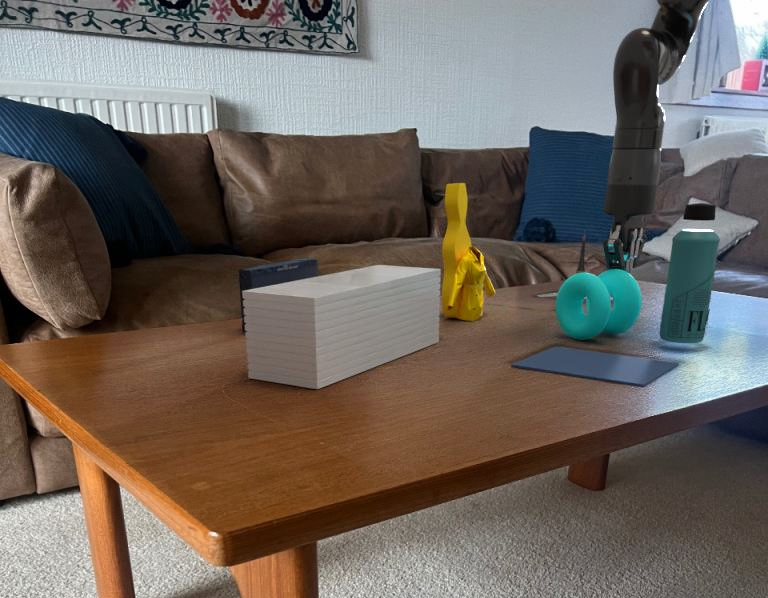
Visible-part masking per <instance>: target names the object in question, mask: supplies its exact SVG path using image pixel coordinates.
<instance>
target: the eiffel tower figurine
mask: <svg viewBox="0 0 768 598" xmlns="http://www.w3.org/2000/svg"><path fill="white" fill-rule="evenodd" d="M585 232H586V231H584V233H583V235H582V237H581V238H582V241H581V248H580V254H579V259H578V263H577V264H578V265H577V269H576V270H575V274H577V273H587V272H586V270H585V269H586V267H585V254H586V253H585V252H586V240H587V236H586V234H585ZM557 294H558V292H553V293H552V292H550V293H543V294H537V295H536V297H538V298H546V297H547V298H548V297H557ZM610 299H611V301H614V300H613V298H612V297H611V295H610ZM586 300H587V297H585V299H584V301H586Z"/></svg>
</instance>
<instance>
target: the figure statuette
mask: <svg viewBox="0 0 768 598" xmlns="http://www.w3.org/2000/svg"><path fill="white" fill-rule="evenodd" d="M466 186H467V185H466V183H465V182H457V183H447V184H446V185H445V193H444V209H445V214H446V219H447V225H446V230H445V235H444V238H443V241H442V248H441V254H442V262H443V279H442V286H441V306H442V314H443V317H444V318H446V319H447V318H450V319H454V318H455V319H457V320H462V321H468V322H474V321H477V320H479V319H480V318H481V317H482V316H483V315H484V302H485V301H484V300H485V295H484V294H485V293H486V295H487V298H491V297H493V296H494V295H496V293H497V292H496V290H495V288H494V285H493V283H492V281H491V278H490V277H489V276H488V273H487V268H486V266H485V256H484V255H483V253H482V252H481V251H480V250H479V249H478V248H477V247H476V246H472V240H471V236H470V234H469V231H468V228H467V223H466V219H467V212H468V199H469V198H468V192H467V187H466ZM484 291H485V293H484Z"/></svg>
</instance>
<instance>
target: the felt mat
mask: <svg viewBox="0 0 768 598" xmlns="http://www.w3.org/2000/svg"><path fill="white" fill-rule="evenodd" d="M679 364H680V363H679V362H675V361H674V362H673V361H666V360H658V359H651V358H643V357H636V356H629V355H623V354H622V355H621V354H614V353H606V352H599V351H592V350H584V349H578V348H577V349H576V348H570V347H562V346H553V347H551V348H548V349H545V350H543V351H541V352H538V353H535V354H533V355H531V356H529V357H526V358H524V359H521V360H519V361H516V362H513V363H512V364H510V366H511V367H512V368H518V369H524V370H532V371H536V372H537V371H538V372H543V373H550V374H551V373H552V374H557V375H563V376H570V377H577V378H582V379H588V380H589V379H590V380H596V381H603V382H609V383H615V384H621V385H629V386H635V387H640V388H641V387H642V388H644V387H646V386H648V385H649V384H650V383H652V382H654V381H656V380H657V379H659V378H660V377H663V376H664V375H665V374H666V373H668V372H670V371H671V370H674V368H677V366H679Z"/></svg>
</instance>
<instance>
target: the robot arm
mask: <svg viewBox="0 0 768 598" xmlns="http://www.w3.org/2000/svg"><path fill="white" fill-rule="evenodd" d="M709 1H710V0H656V3H657V5H658V10H657V11H656V14H655V16H654V20H653V21H652V24H651V26H650V27H638V28H635V29H632V30H631V31H629V32H628V33H626V35H625V36H624V37H623V38H622V40H621V41H620V43H619V45H618V47H617V50H616V53H615V56H614V61H613V70H612V78H613V95H614V105H615V107H614V108H615V113H616V121H615V125H614V126H615V127H614V135H613V142H612V153H611V156H610V161H609V166H608V173H607V181H606V191H605V198H604V199H605V200H604V210H603V212H604V213H605V214H606V215H608V216H613V221H612V225H611V228H610V231H609V238H604V239H603V243H602V247H603V252H604V257H605V263H606V268H607V270H610V269H620V270H623V271H626V272H628V273H629V274H632V272H633V270H634V269H636V268H637V266H638V263H639V261H640V258H641V255H642V253H643V249H644V247H645V244H646V242H647V239H648V237H647V234H645V233H644V228H643V217H648V216H652V215H653V214H654V213H655V210H656V203H657V195H658V188H659V181H660V175H661V173H660V172H661V166H662V165H661V159H662V155H661V154H662V153H661V152H662V147H663V146H662V145H663V138H664V131H665V122H666V113H665V109H663V107H662V106H661V104H660V103H659V86H662V85H664V84H665V83H667V82H668V81H669V80H670V79H671V78H672V77H673V76H674V75H675V74H676V72H677V71H678V70H679V68H680V67H681V65H682V63H683V62H684V59H685V57H686V55H687V53H688V51H689V48H690V45H691V44H692V41H693V38H694V35H695V33H696V30H697V27H698V25H699V21H700V19H701V15H702V13H703V11H704V9H705V8H706V6H707V4H708V3H709ZM610 296H611V295H610ZM611 297H612V296H611Z"/></svg>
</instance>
